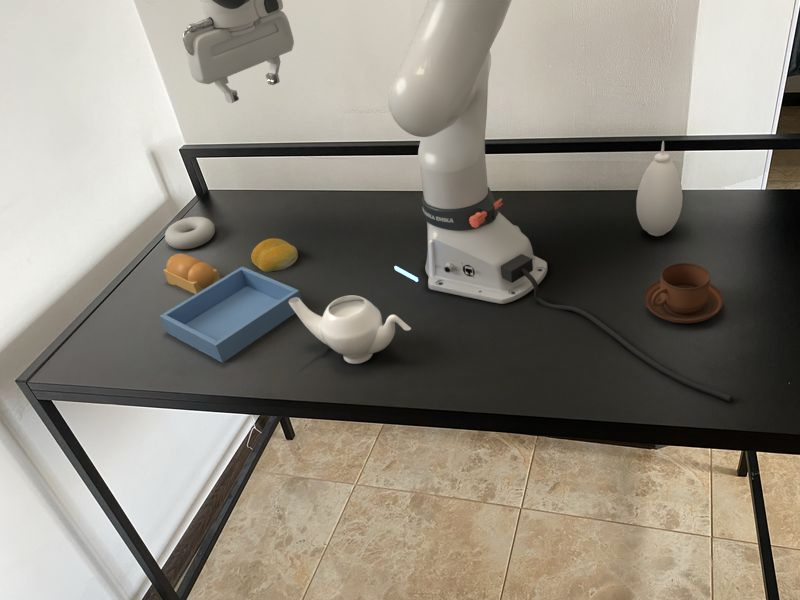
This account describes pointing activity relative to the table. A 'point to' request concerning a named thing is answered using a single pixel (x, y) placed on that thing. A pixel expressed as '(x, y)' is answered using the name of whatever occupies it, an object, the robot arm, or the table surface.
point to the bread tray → (230, 313)
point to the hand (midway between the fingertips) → (254, 92)
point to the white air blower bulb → (659, 196)
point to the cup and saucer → (684, 294)
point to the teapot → (350, 327)
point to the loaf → (190, 273)
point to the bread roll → (274, 255)
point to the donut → (189, 232)
